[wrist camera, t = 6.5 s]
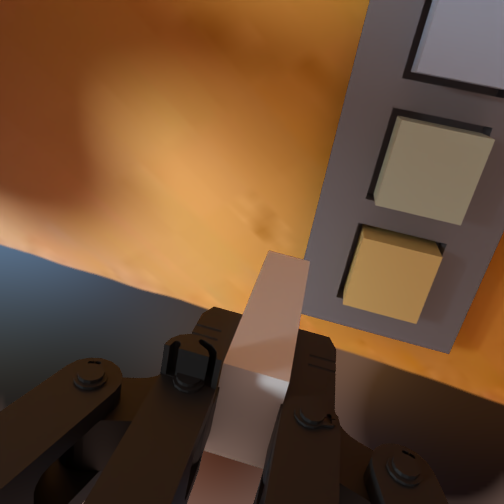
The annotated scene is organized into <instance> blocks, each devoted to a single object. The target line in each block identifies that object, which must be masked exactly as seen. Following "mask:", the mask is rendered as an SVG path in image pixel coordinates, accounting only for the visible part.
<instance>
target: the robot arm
mask: <svg viewBox="0 0 504 504" xmlns="http://www.w3.org/2000/svg"><path fill="white" fill-rule="evenodd" d="M309 265H310V261H307V260H303V259H299V258H295V257H291V256H288V255H284V254H280V253H276V252H272V251H268V254H267V256H266V259H265V261H264V264H263V266H262V268H261V271H260V273H259V276H258V278H257V281H256V283H255V286H254V288H253V291H252V293H251V296H250V298H249V301H248V303H247V305H246V308H245V310H244V313H243V315H242V314H239V313H235V312H232V311H228V310H224V309H221V308H217V307H213V308H211V309H209V310H208V311H206V312H204V313H203V314H202V315H201V317H200V319H199V321H198V322H197V325H196V326H195V328H194V330H193V331H192V334H187V335H186V334H185V335H179V336H176V337H173V338H171V339H170V340H169V341H168V342H166V343H165V345H164V352H163V360H162V367H161V373H160V375H158V376H155V377H150V378H123V377H122V373H121V371H120V368H119V367H118V366H117V365H115V364H114V363H113V362H111V361H108V360H105V359H102V358H86V359H81V360H77V361H75V362H73V363H71V364H69V365H67V366H66V367H64V368H63V369H62V370H60V371H58V372H57V373H55V374H54V375H52V376H51V377H50V378H48V379H47V380H45V381H44V382H42V383H41V384H39V385H38V386H37V387H35V388H34V389H32V390H31V391H29V392H28V393H27V394H25V395H24V396H22V397H21V398H19V399H18V400H16V401H15V402H13V403H12V404H11V405H9V406H8V407H6V408H5V409H3V410H2V411H0V504H82V503H83V502H84V501H85V502H84V504H187V501H188V499H189V496H190V493H191V490H192V487H193V485H194V482H195V479H196V476H197V473H198V470H199V466H200V462H201V457H202V453H203V450H204V448H205V451H207V452H210V453H214V454H217V455H220V456H224V457H227V458H230V459H233V460H236V461H240V462H243V463H246V464H249V465H252V466H256V467H259V468H263V474H262V477H261V480H260V484H259V487H258V490H257V493H256V497H255V500H254V503H253V504H448V502H447V499H446V497H445V495H444V493H443V491H442V489H441V487H440V485H439V483H438V480H437V478H436V476H435V474H434V473H433V471H432V469H431V468H430V466H429V465H428V463H427V462H426V461H425V460H424V459H422V458H421V457H420V456H419V455H418V454H417V453H415V452H414V451H412V450H410V449H408V448H406V447H404V446H401V445H396V444H382V445H380V446H379V447H377V448H375V450H374V451H373V450H371V449H370V448H368V447H366V446H364V445H363V444H361V443H359V442H358V441H356V440H355V439H353V438H352V437H350V436H349V435H348V434H347V433H346V432H345V431H344V430H343V429H342V427H341V426H340V423H339V419H338V416H337V415H336V414H335V410H334V409H335V406H334V405H335V371H336V364H335V362H336V349H335V347H334V345H333V343H332V341H331V339H330V338H329V337H326V336H323V335H319V334H315V333H312V332H308V331H305V330H301V329H299V323H300V317H301V311H302V305H303V300H304V294H305V288H306V282H307V276H308V270H309Z"/></svg>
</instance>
